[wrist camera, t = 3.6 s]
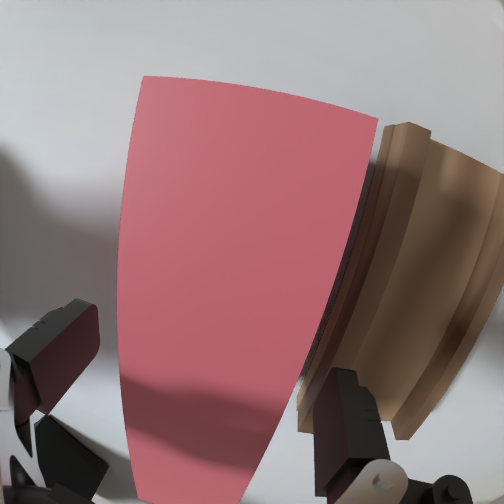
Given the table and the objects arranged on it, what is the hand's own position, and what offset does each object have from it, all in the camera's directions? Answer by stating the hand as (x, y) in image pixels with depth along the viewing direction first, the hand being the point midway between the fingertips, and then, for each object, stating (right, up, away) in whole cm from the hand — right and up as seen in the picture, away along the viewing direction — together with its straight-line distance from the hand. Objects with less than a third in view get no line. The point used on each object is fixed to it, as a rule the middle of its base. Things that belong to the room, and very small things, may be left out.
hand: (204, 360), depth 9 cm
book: (+1, +3, +9) cm, 9 cm away
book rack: (+11, 0, +8) cm, 14 cm away
